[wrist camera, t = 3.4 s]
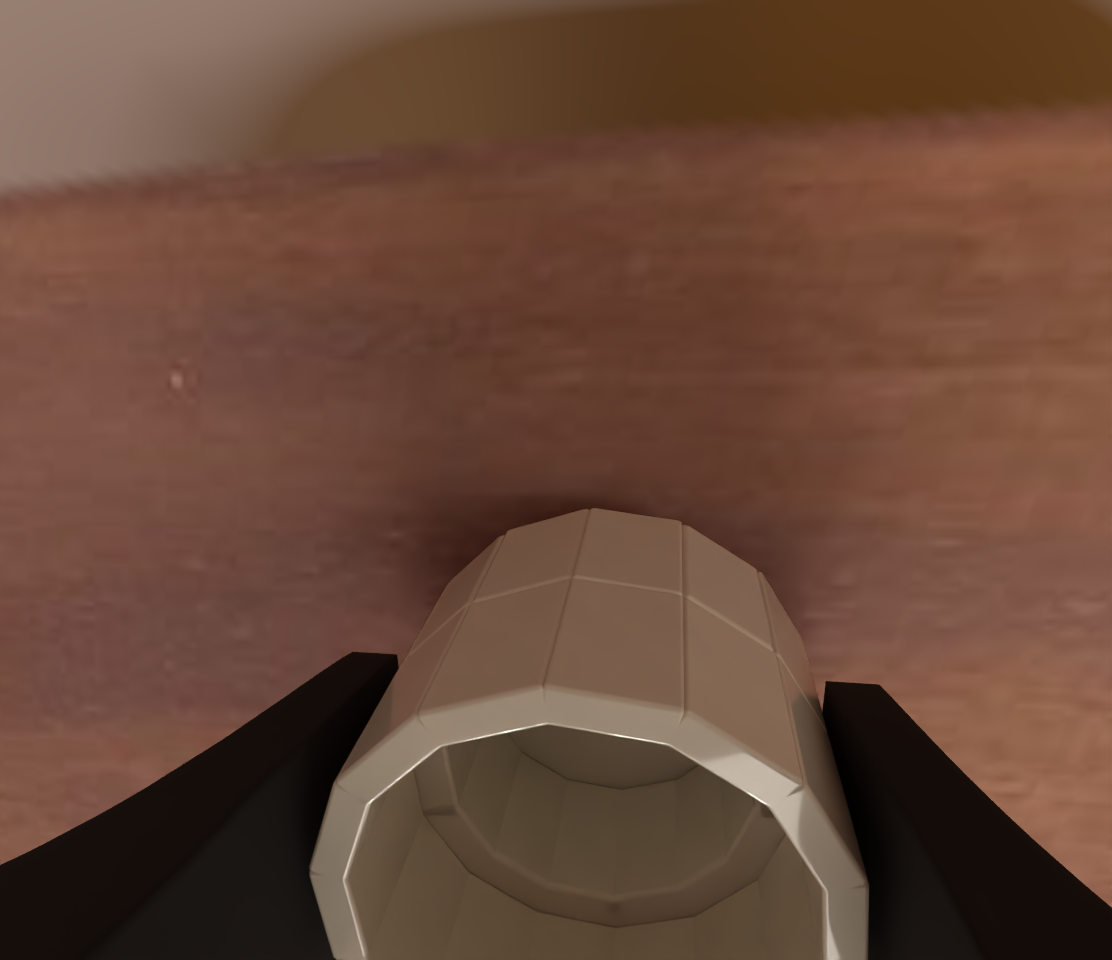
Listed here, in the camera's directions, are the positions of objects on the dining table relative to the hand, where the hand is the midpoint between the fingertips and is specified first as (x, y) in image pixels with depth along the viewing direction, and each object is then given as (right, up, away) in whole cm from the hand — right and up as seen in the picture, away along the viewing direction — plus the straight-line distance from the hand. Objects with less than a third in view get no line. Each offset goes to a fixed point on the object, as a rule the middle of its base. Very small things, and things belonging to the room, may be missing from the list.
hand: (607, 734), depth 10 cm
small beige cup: (0, +1, +2) cm, 2 cm away
